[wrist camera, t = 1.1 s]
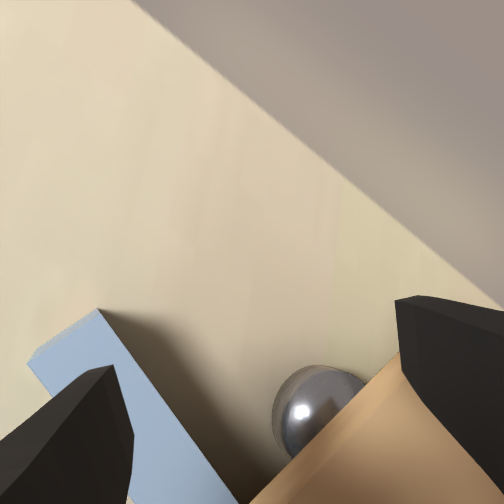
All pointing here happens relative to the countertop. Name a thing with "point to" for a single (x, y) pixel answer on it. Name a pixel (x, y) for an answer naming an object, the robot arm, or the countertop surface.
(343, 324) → the countertop surface
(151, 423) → the push bar
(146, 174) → the countertop surface
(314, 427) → the grey round puck
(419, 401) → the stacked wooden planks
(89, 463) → the robot arm
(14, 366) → the countertop surface
